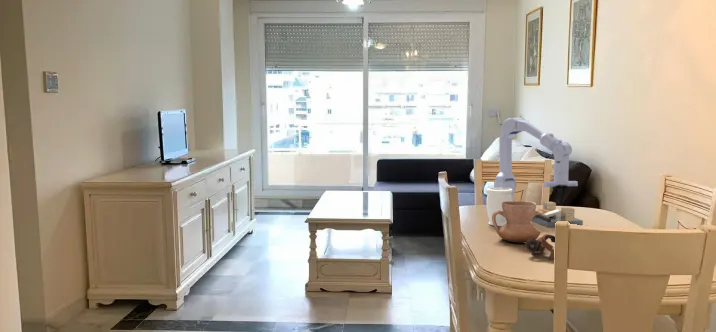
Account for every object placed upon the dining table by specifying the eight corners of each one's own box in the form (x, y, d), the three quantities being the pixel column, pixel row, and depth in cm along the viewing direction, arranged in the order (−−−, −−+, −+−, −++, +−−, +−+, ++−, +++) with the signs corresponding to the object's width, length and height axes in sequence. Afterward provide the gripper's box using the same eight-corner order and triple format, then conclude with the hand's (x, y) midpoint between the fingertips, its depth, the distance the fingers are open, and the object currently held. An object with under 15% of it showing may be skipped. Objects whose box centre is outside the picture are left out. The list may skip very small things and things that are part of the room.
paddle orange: (541, 214, 247) (542, 209, 247) (537, 212, 250) (538, 208, 250) (555, 217, 248) (556, 213, 248) (551, 216, 252) (553, 211, 251)
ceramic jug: (541, 237, 218) (542, 200, 216) (543, 246, 204) (544, 206, 202) (492, 236, 222) (492, 199, 221) (491, 244, 208) (491, 205, 207)
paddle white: (546, 219, 244) (545, 215, 243) (543, 218, 247) (542, 213, 247) (561, 215, 245) (560, 210, 245) (557, 213, 248) (556, 209, 248)
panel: (547, 227, 236) (547, 210, 235) (526, 218, 254) (526, 202, 253) (582, 225, 239) (583, 208, 238) (559, 217, 257) (559, 201, 256)
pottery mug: (549, 252, 198) (560, 234, 193) (558, 272, 190) (570, 253, 185) (517, 245, 195) (528, 226, 191) (525, 264, 187) (537, 245, 183)
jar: (490, 220, 249) (491, 186, 247) (514, 223, 243) (515, 188, 242) (482, 225, 240) (483, 189, 238) (507, 228, 234) (508, 191, 233)
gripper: (550, 173, 239) (549, 205, 241) (582, 172, 242) (581, 204, 244) (541, 171, 246) (540, 202, 248) (572, 170, 249) (571, 201, 250)
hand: (560, 203), depth 246 cm, fingers closed
